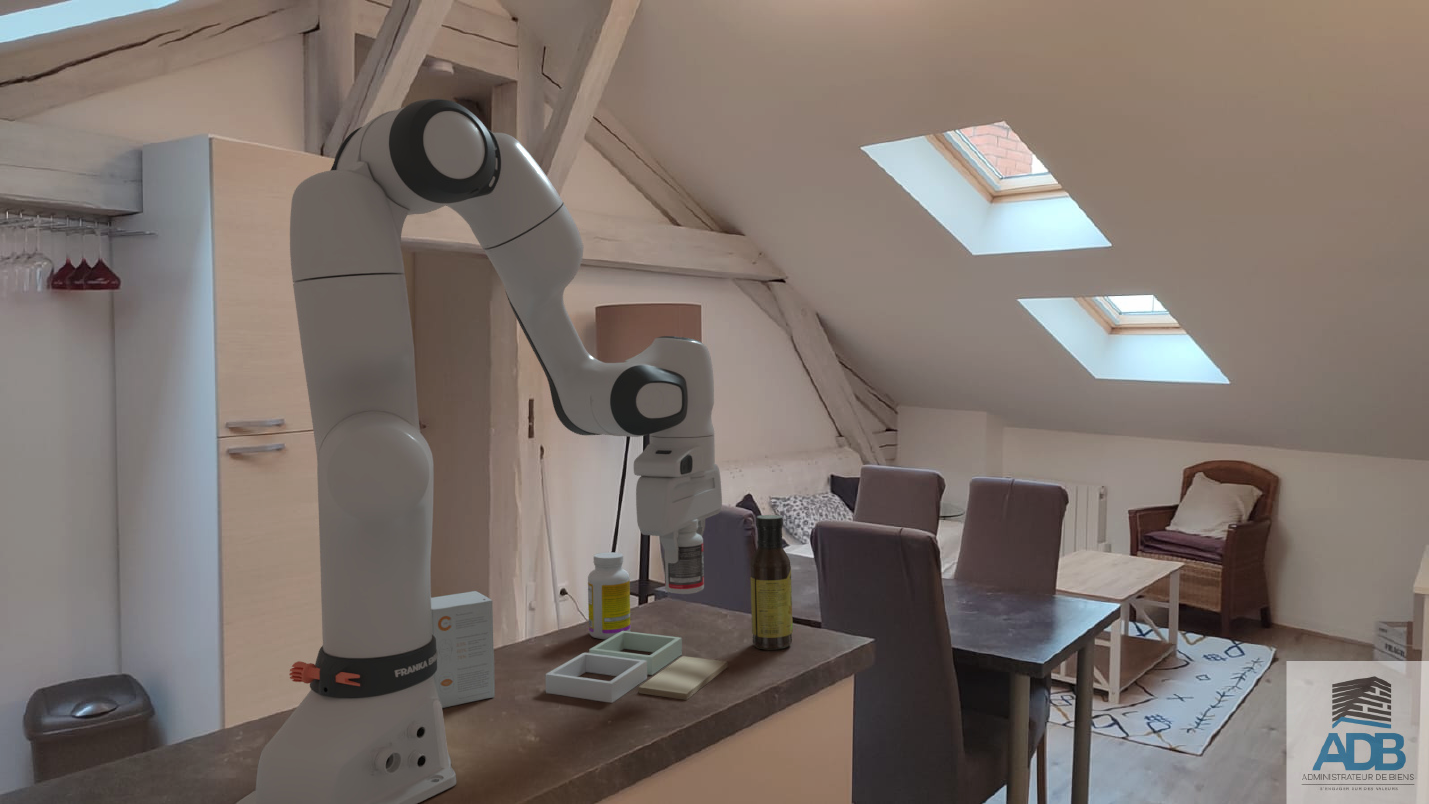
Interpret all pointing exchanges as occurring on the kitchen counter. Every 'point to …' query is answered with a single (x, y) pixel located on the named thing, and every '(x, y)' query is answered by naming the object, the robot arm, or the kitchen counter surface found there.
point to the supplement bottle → (608, 596)
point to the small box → (463, 647)
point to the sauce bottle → (771, 587)
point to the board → (683, 677)
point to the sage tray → (642, 648)
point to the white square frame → (607, 691)
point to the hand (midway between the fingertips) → (683, 557)
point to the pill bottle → (686, 563)
